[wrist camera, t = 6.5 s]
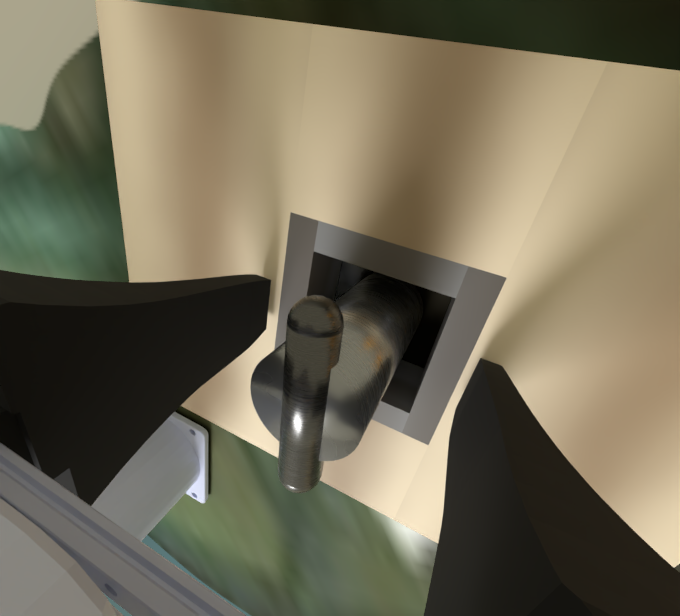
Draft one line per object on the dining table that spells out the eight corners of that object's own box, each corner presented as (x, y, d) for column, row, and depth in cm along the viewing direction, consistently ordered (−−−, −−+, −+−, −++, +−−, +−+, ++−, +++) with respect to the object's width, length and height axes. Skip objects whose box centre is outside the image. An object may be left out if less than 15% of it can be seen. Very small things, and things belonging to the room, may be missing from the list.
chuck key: (344, 351, 15) (240, 476, 9) (363, 232, 13) (238, 287, 7) (407, 373, 14) (339, 528, 8) (439, 248, 12) (379, 331, 6)
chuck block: (185, 357, 20) (141, 385, 18) (173, 29, 13) (94, -4, 10) (576, 546, 14) (594, 627, 12) (968, 149, 7) (1240, 142, 4)
